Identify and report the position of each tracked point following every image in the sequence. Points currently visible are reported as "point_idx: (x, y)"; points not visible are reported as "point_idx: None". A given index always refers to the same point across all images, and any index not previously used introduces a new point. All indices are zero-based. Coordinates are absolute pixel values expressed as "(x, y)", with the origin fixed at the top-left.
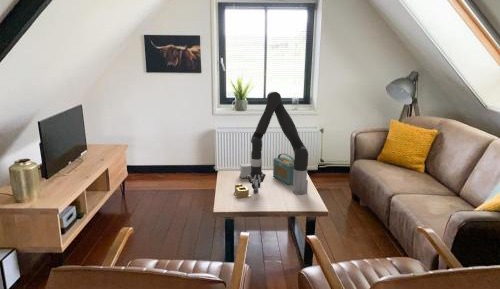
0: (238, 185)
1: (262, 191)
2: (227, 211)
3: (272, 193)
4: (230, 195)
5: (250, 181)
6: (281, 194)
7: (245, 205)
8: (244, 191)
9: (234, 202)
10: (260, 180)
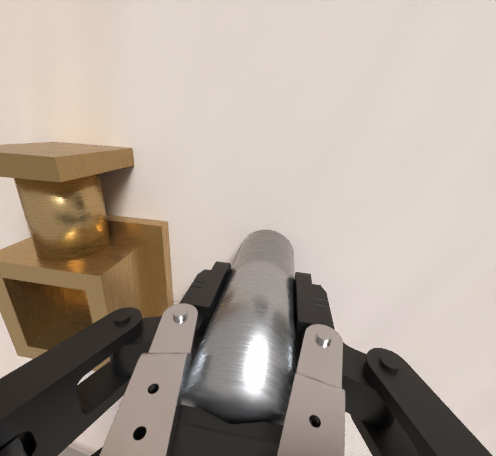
0: (9, 175)
1: (350, 260)
2: None
3: (412, 347)
4: (10, 222)
5: (108, 389)
6: (476, 399)
7: (106, 411)
8: None
9: None
10: (349, 397)
